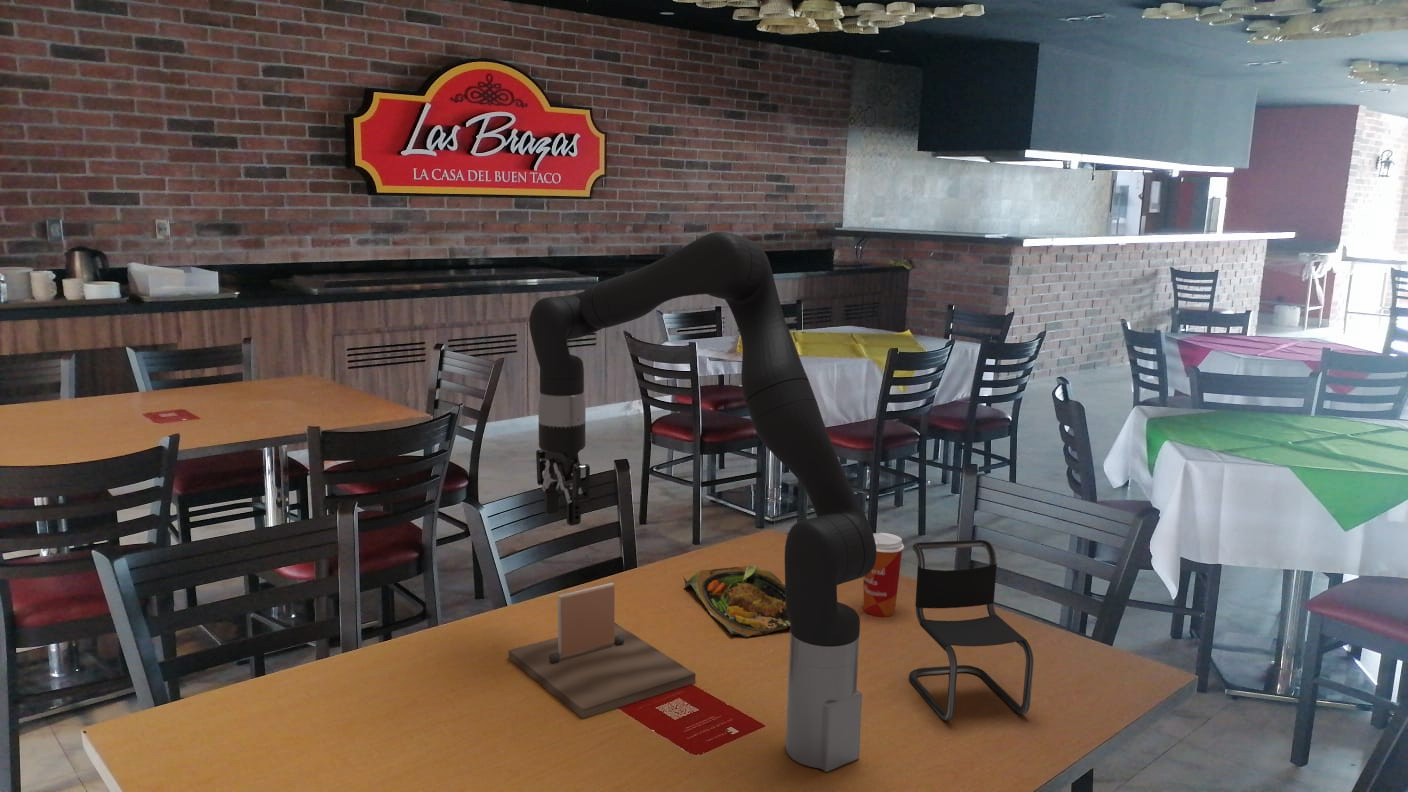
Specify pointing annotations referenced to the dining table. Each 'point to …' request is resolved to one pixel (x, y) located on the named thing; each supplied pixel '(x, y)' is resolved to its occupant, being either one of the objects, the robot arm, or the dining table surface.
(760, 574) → the prepared meal
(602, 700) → the walnut board
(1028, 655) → the chair
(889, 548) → the paper cup
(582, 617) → the tile
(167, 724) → the dining table surface
